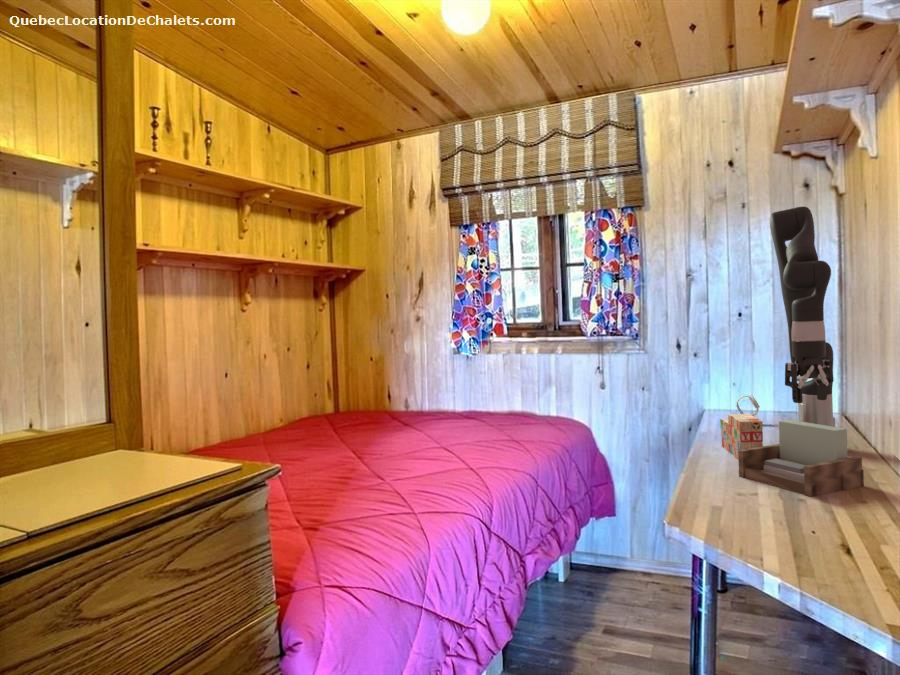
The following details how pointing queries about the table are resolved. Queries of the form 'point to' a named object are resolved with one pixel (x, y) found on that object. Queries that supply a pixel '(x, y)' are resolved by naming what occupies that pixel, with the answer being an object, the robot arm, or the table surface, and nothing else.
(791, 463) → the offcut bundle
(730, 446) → the stack of blocks
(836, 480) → the rack
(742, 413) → the watch
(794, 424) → the tall sheet
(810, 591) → the table surface
